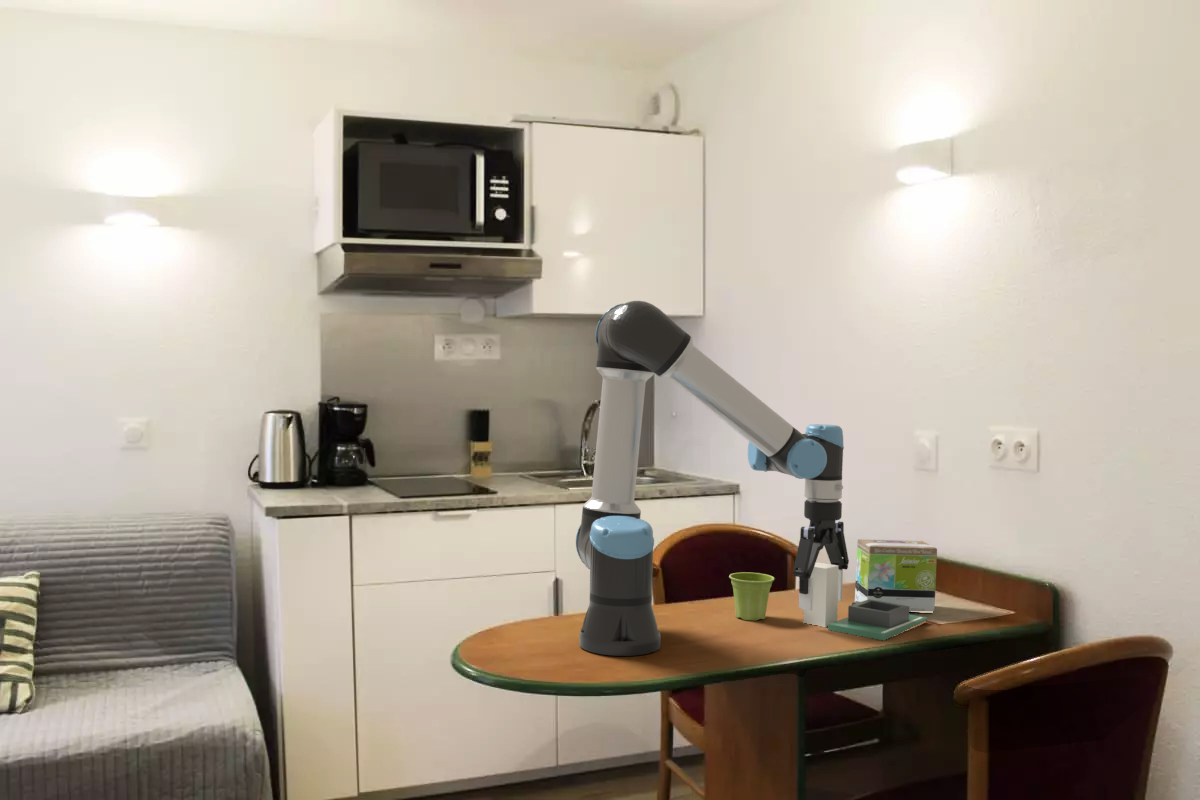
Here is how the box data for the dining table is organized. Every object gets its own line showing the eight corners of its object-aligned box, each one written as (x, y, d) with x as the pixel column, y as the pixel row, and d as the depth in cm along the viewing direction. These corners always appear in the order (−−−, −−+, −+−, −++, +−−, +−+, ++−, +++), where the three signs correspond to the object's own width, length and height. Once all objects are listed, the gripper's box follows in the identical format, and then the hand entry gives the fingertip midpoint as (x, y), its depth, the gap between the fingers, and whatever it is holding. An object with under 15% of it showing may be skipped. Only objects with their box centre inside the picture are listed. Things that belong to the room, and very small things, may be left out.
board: (883, 640, 202) (884, 619, 202) (828, 630, 210) (828, 609, 210) (927, 623, 218) (927, 603, 217) (873, 613, 225) (874, 594, 225)
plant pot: (771, 613, 224) (772, 573, 224) (774, 623, 215) (775, 581, 215) (727, 611, 225) (728, 571, 225) (728, 622, 216) (729, 580, 215)
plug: (825, 627, 212) (826, 568, 212) (799, 622, 216) (801, 564, 216) (837, 623, 216) (838, 565, 216) (812, 618, 220) (813, 561, 220)
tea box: (867, 613, 226) (868, 545, 225) (854, 603, 236) (855, 538, 235) (936, 614, 226) (937, 546, 226) (920, 604, 236) (922, 539, 236)
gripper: (810, 506, 204) (807, 617, 204) (866, 496, 222) (864, 598, 222) (776, 502, 209) (774, 611, 209) (834, 493, 227) (832, 593, 227)
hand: (820, 604), depth 216 cm, fingers open, 12 cm apart
